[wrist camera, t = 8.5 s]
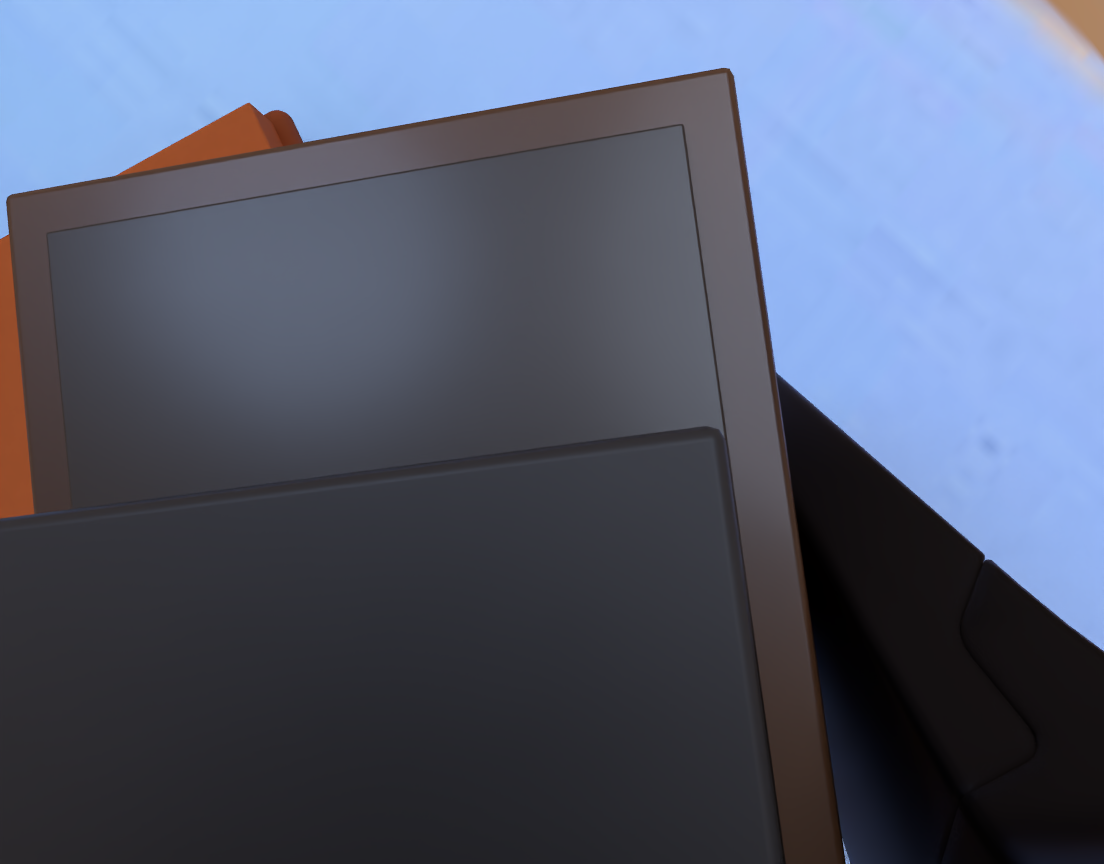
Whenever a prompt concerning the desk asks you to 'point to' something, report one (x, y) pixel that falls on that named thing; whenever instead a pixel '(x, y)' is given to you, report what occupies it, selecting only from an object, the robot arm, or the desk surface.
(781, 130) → the desk surface
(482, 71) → the desk surface
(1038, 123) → the desk surface
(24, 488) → the flat square box
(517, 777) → the remote caddy
